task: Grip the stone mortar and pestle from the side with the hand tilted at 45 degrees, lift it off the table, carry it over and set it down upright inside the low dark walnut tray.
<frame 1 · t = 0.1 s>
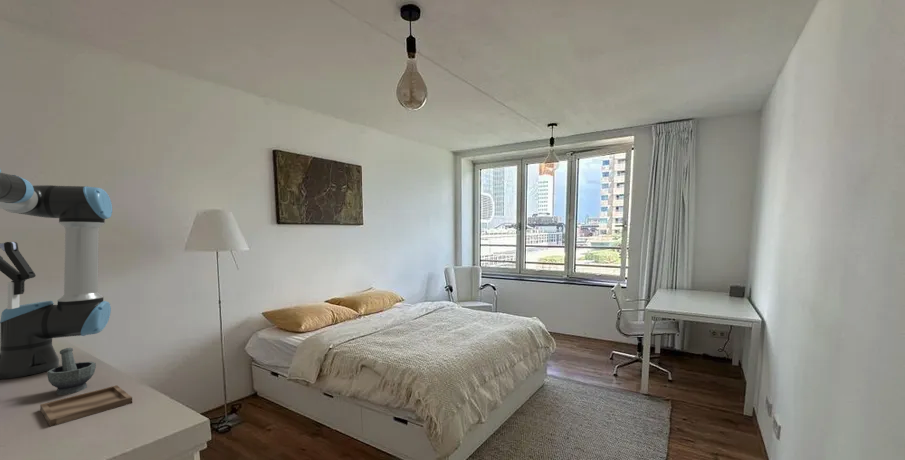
walnut tray: (87, 406, 96), on the table
mortar and pestle: (71, 390, 107), on the table
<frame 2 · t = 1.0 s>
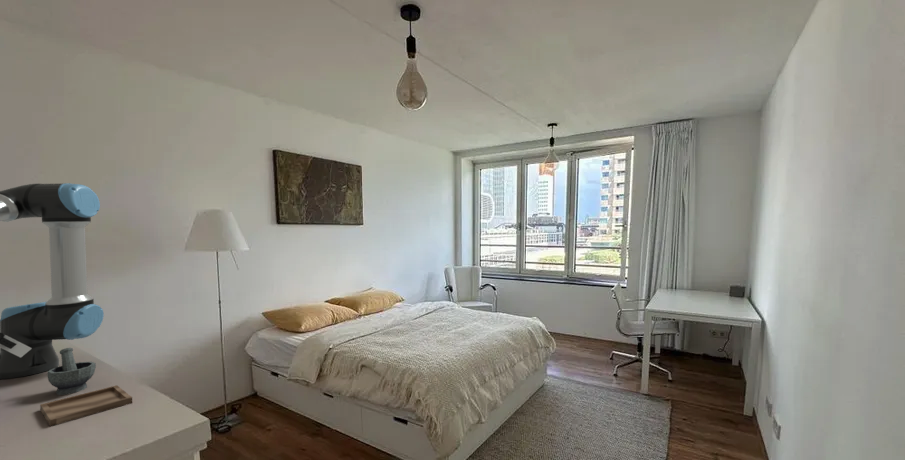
hand: (19, 349, 99), 15 cm above the table, tool tilted 45°, fingers open, 13 cm apart
nothing on the table moved.
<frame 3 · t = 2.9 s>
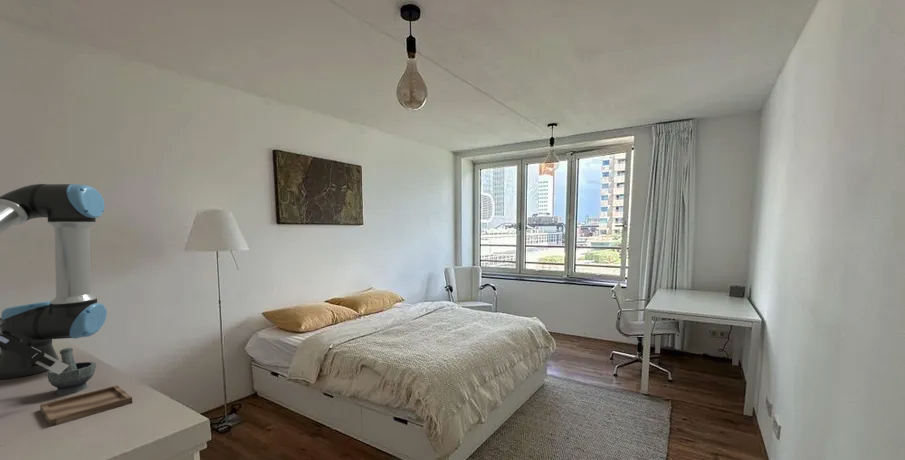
hand: (56, 366, 104), 8 cm above the table, tool tilted 45°, fingers open, 13 cm apart
nothing on the table moved.
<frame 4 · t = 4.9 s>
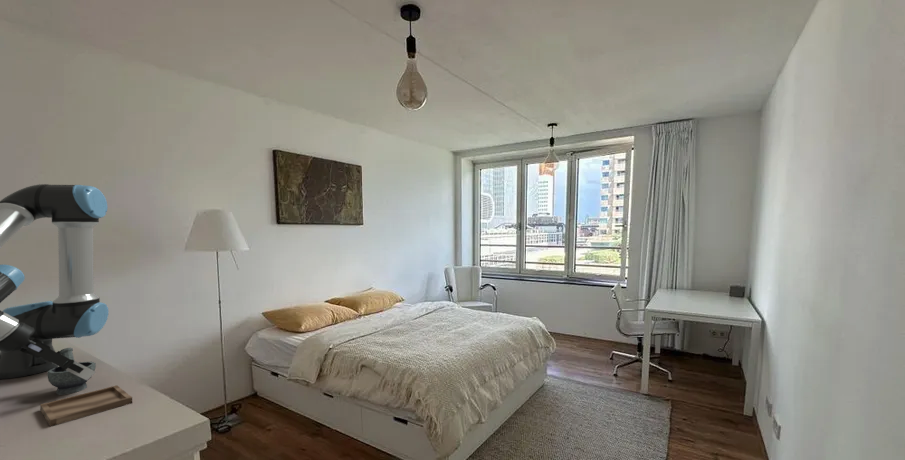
hand: (84, 372, 110), 4 cm above the table, tool tilted 45°, fingers closed on mortar and pestle, 11 cm apart
mortar and pestle: (71, 390, 107), on the table, touching gripper
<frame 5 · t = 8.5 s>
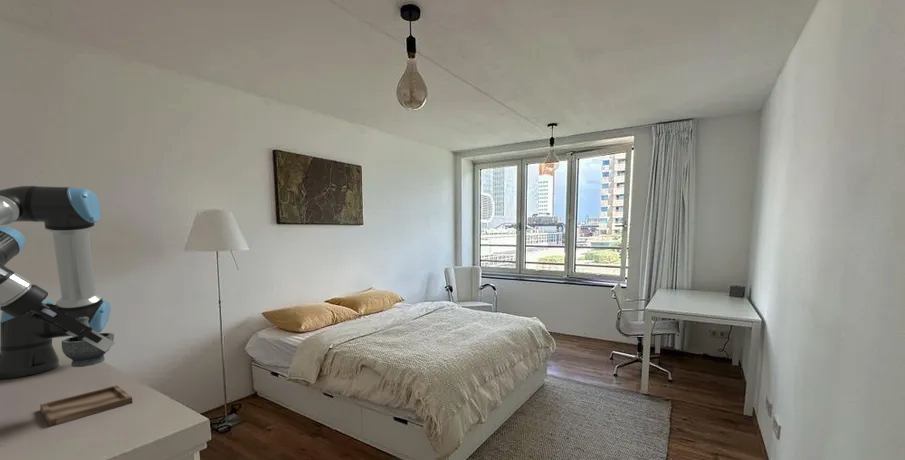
hand: (101, 344, 99), 16 cm above the table, tool tilted 45°, fingers closed on mortar and pestle, 11 cm apart
mortar and pestle: (87, 363, 96), point 11 cm above the table, touching gripper
when the fingers open (6 cm above the table, at t = 11.7 s): mortar and pestle drops 1 cm, resting on walnut tray.
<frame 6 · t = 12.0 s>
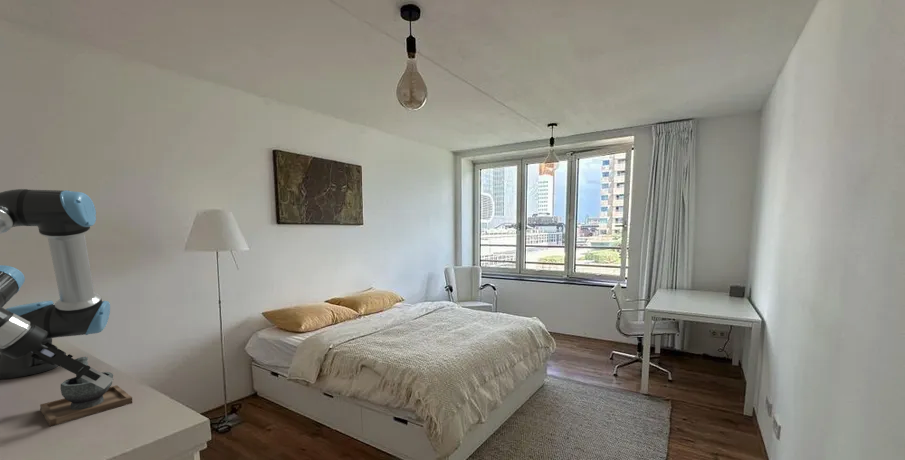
hand: (99, 379, 98), 6 cm above the table, tool tilted 45°, fingers open, 13 cm apart
mortar and pestle: (86, 404, 96), resting on walnut tray
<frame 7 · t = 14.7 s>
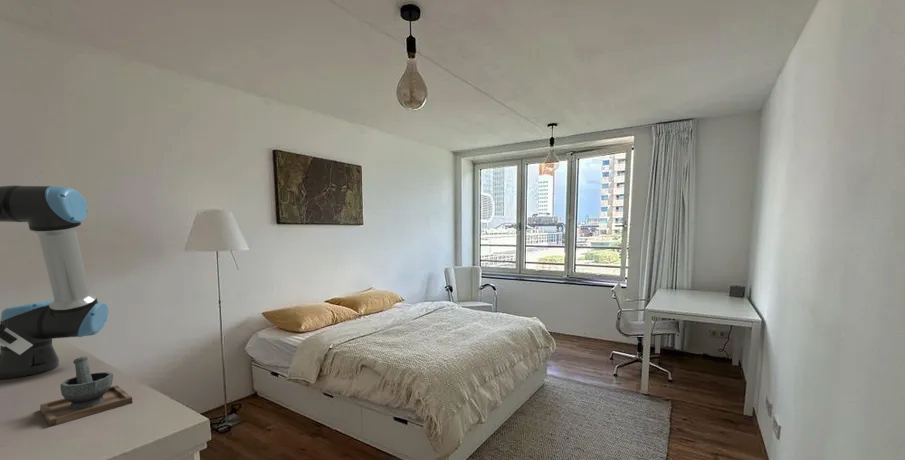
hand: (17, 346, 88), 19 cm above the table, tool tilted 40°, fingers open, 13 cm apart
nothing on the table moved.
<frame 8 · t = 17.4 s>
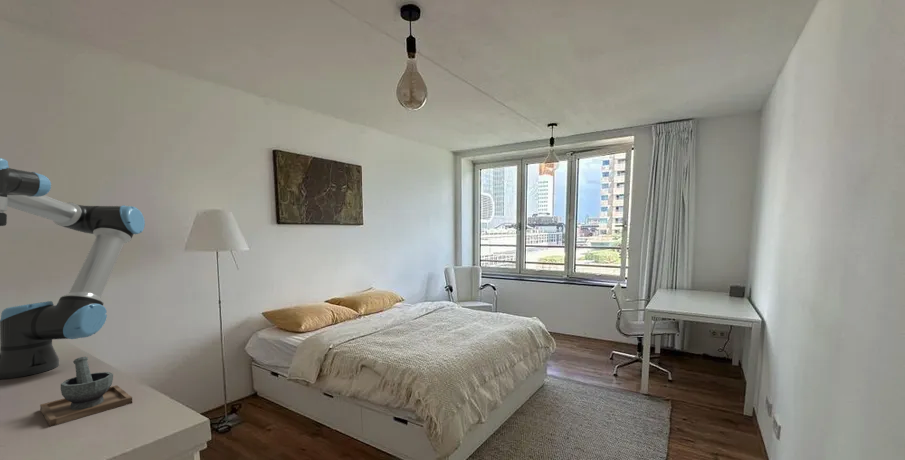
nothing on the table moved.
at the end: mortar and pestle inside the target area on the walnut tray (0.4 cm from its centre), point 0.4 cm above the walnut tray's base; mortar and pestle tilted 0°; the gripper is holding nothing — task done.
